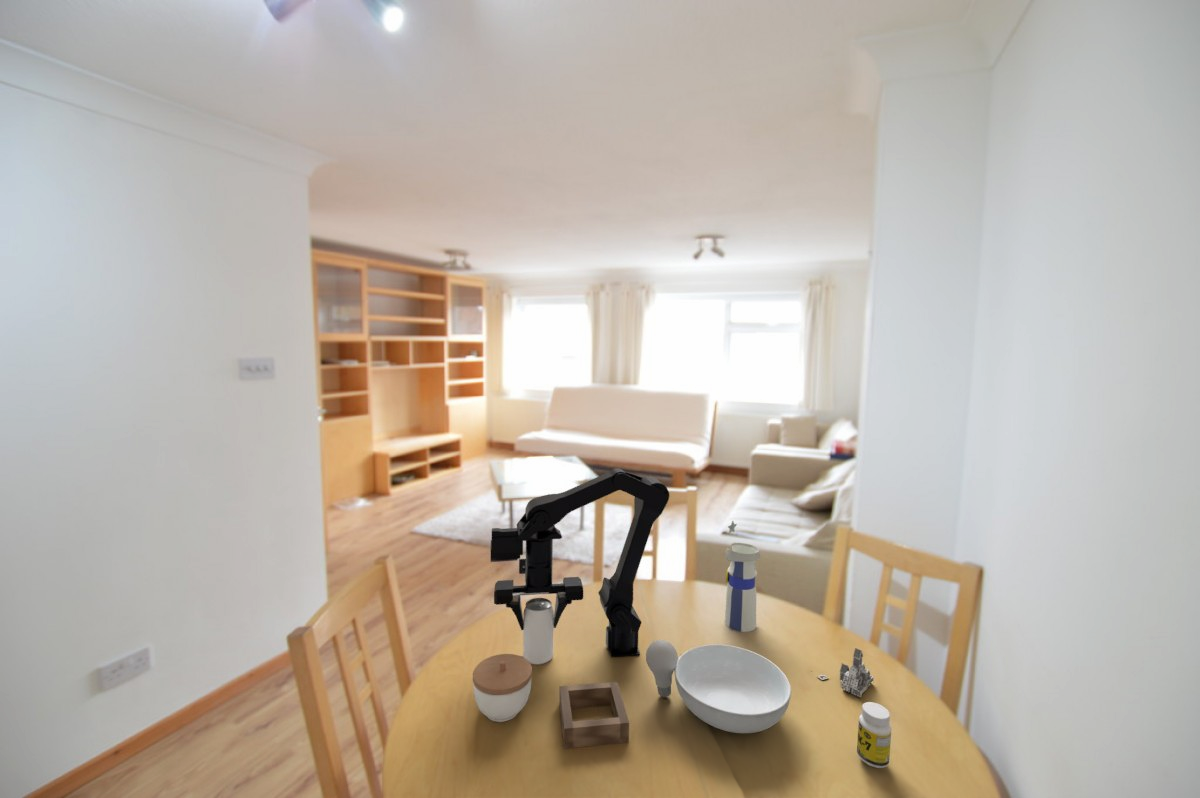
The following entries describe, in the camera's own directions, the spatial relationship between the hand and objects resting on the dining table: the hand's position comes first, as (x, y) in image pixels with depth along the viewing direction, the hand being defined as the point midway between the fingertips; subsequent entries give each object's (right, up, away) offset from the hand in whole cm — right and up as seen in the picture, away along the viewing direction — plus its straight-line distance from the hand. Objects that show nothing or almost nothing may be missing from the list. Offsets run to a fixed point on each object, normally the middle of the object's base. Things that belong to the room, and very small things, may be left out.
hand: (538, 628), depth 109 cm
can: (0, -7, +1) cm, 7 cm away
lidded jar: (-5, -8, -16) cm, 19 cm away
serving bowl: (+38, -9, -15) cm, 41 cm away
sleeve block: (+12, -8, -19) cm, 24 cm away
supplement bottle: (+59, -10, -26) cm, 65 cm away
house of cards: (+65, -9, -4) cm, 65 cm away
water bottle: (+48, -6, +16) cm, 51 cm away
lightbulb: (+26, -8, -12) cm, 30 cm away
